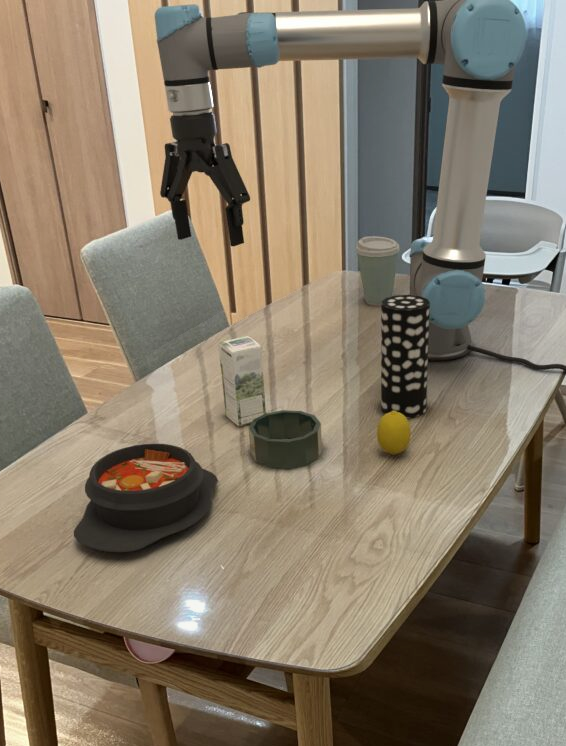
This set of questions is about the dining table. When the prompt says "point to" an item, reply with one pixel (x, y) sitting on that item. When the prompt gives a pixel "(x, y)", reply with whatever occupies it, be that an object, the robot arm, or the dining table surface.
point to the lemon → (393, 432)
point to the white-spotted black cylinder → (404, 354)
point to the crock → (285, 452)
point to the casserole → (143, 497)
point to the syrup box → (242, 379)
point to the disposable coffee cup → (377, 267)
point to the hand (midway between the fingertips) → (210, 241)
